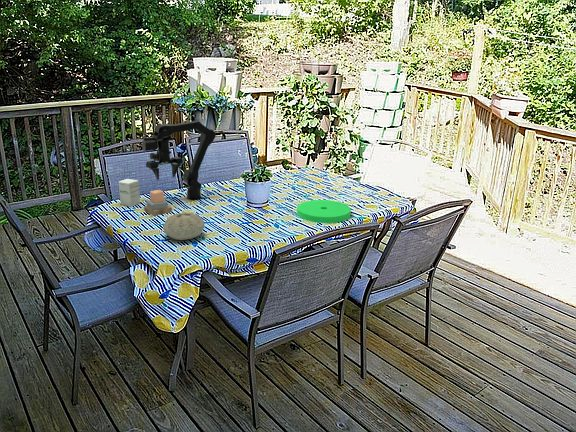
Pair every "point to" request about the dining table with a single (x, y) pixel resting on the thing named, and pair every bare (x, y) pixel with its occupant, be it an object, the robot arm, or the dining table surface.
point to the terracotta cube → (157, 196)
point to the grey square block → (156, 205)
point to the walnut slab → (157, 211)
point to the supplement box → (129, 192)
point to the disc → (323, 211)
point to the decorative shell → (183, 226)
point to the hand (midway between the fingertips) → (165, 178)
